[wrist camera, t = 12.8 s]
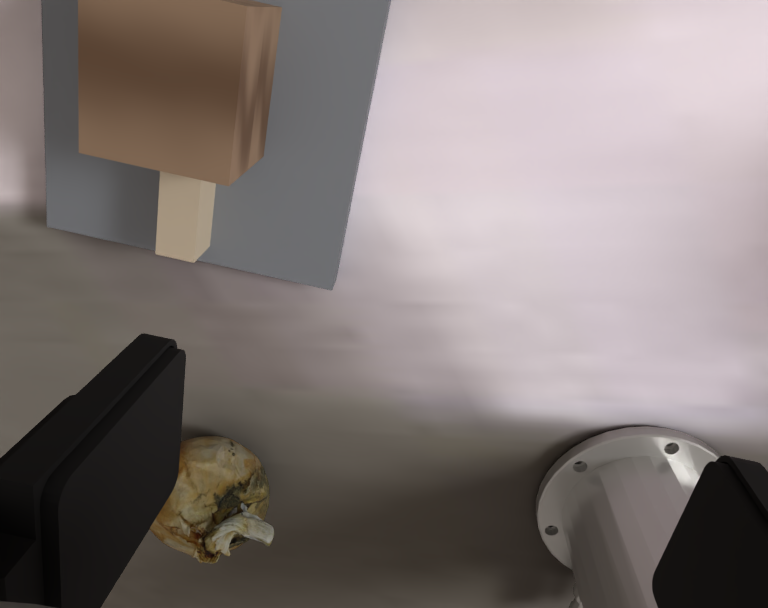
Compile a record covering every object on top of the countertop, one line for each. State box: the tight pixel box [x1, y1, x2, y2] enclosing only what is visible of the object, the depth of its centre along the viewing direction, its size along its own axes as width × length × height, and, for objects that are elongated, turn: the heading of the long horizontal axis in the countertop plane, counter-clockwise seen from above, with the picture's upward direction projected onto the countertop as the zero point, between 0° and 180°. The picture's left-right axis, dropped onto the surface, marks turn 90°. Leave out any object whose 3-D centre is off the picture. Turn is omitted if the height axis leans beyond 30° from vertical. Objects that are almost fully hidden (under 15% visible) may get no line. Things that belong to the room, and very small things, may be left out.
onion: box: [149, 436, 274, 564], centre depth 39 cm, size 8×8×8 cm
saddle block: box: [78, 0, 282, 186], centre depth 27 cm, size 7×6×6 cm
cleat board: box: [41, 0, 391, 290], centre depth 30 cm, size 20×16×4 cm
